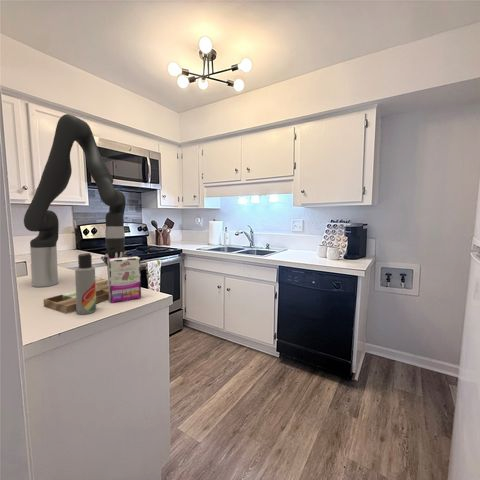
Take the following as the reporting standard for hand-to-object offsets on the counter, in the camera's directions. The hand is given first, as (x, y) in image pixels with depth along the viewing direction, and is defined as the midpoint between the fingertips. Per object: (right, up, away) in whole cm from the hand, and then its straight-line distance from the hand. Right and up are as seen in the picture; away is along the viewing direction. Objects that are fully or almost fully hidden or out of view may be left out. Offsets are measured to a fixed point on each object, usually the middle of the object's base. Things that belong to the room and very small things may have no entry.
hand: (116, 275), depth 112 cm
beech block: (-4, -4, -7) cm, 9 cm away
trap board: (-4, -7, -15) cm, 17 cm away
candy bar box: (+9, -8, -12) cm, 17 cm away
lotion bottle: (+2, -9, -25) cm, 27 cm away
